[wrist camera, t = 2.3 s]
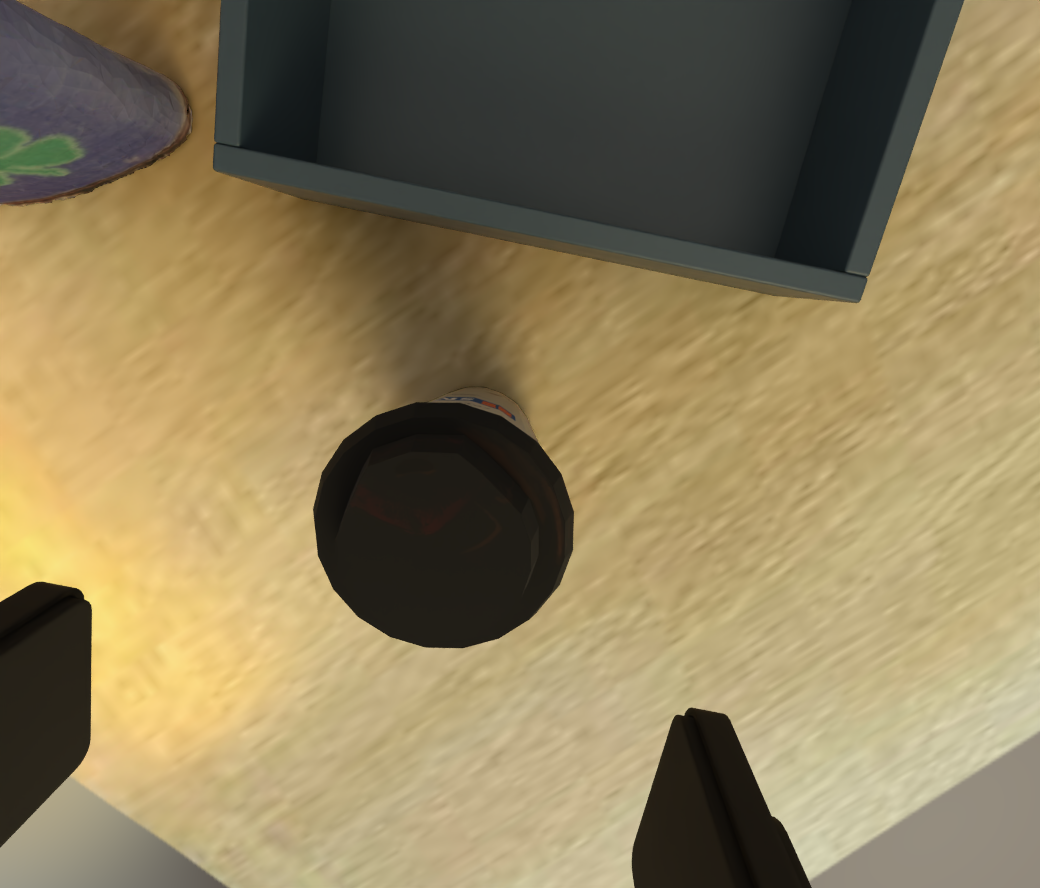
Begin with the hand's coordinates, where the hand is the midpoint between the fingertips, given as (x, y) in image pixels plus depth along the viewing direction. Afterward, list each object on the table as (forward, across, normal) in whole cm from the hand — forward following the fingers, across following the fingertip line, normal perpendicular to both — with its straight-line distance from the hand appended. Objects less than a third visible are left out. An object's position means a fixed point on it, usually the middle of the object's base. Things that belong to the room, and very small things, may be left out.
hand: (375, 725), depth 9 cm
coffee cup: (+16, 0, -1) cm, 16 cm away
